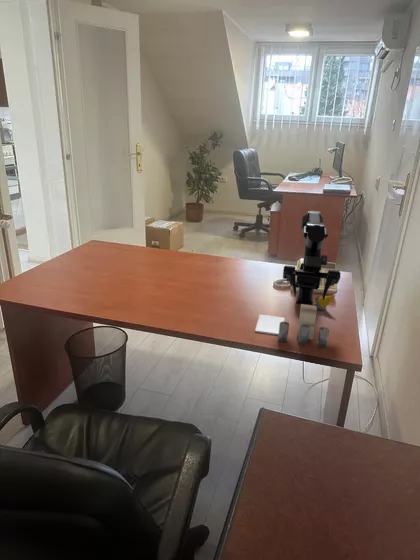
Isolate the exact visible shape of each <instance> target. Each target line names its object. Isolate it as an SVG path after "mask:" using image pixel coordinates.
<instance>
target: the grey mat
mask: <svg viewBox="0 0 420 560" xmlns="http://www.w3.org/2000/svg"><path fill="white" fill-rule="evenodd" d="M258 316H259V317H258V320H257V323H256V326H255V331H254V332H255V333H260V334H261V333H262V334H267V335H274V336H279V326H280V322H285V321H286V320H285V319H286V318H285V317H284V316H283V317H282V316H273V315H268V314H267V315H266V314H259V315H258Z"/></svg>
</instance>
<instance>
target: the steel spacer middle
mask: <svg viewBox="0 0 420 560" xmlns="http://www.w3.org/2000/svg"><path fill="white" fill-rule="evenodd" d="M309 330H310V326H308V325H305V324H303V325H301V326H300V332H299V338H298V340H297V341H298V342H297V343H298V345H300V346H307V345H308V343H309V339H308V337H309Z"/></svg>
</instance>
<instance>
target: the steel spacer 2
mask: <svg viewBox="0 0 420 560" xmlns="http://www.w3.org/2000/svg"><path fill="white" fill-rule="evenodd" d="M318 329H319V331H318V336H317V337H318V338H317V342H316V343H317V344H316V346H317V347H318V348H319V349H326V348H327V346H328V340H329V335H330V329H329V328H328V327H326V326H320V327H319V328H318Z"/></svg>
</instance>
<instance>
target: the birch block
mask: <svg viewBox="0 0 420 560" xmlns="http://www.w3.org/2000/svg"><path fill="white" fill-rule="evenodd" d="M316 317H317V309H316V306H315V305H310V304H303V303H300V311H299V318H298V327H297V333H296V338H297V339H299V332H300V326H301V325H303V324H305V325H308V326H310V330H309V337H308V340H310V341H311V340H313V339H314V331H315V325H316V320H317V319H316Z"/></svg>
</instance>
